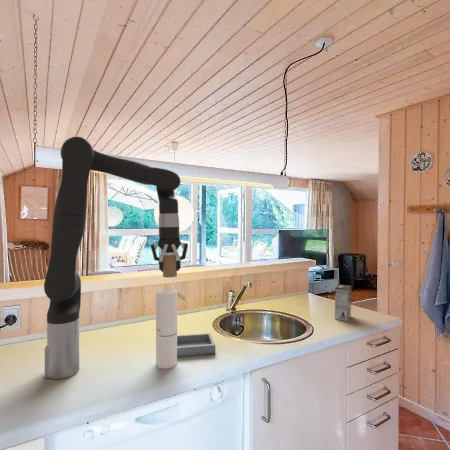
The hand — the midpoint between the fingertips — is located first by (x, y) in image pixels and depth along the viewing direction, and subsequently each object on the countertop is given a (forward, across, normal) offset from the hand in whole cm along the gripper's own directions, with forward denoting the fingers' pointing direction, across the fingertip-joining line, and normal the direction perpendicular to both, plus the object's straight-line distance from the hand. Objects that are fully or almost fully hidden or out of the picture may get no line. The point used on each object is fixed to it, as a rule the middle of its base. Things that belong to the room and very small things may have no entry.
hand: (170, 270), depth 117 cm
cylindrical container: (+31, -2, -10) cm, 32 cm away
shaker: (+2, 0, 0) cm, 2 cm away
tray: (+31, +8, 0) cm, 32 cm away
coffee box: (+33, +87, +24) cm, 96 cm away
